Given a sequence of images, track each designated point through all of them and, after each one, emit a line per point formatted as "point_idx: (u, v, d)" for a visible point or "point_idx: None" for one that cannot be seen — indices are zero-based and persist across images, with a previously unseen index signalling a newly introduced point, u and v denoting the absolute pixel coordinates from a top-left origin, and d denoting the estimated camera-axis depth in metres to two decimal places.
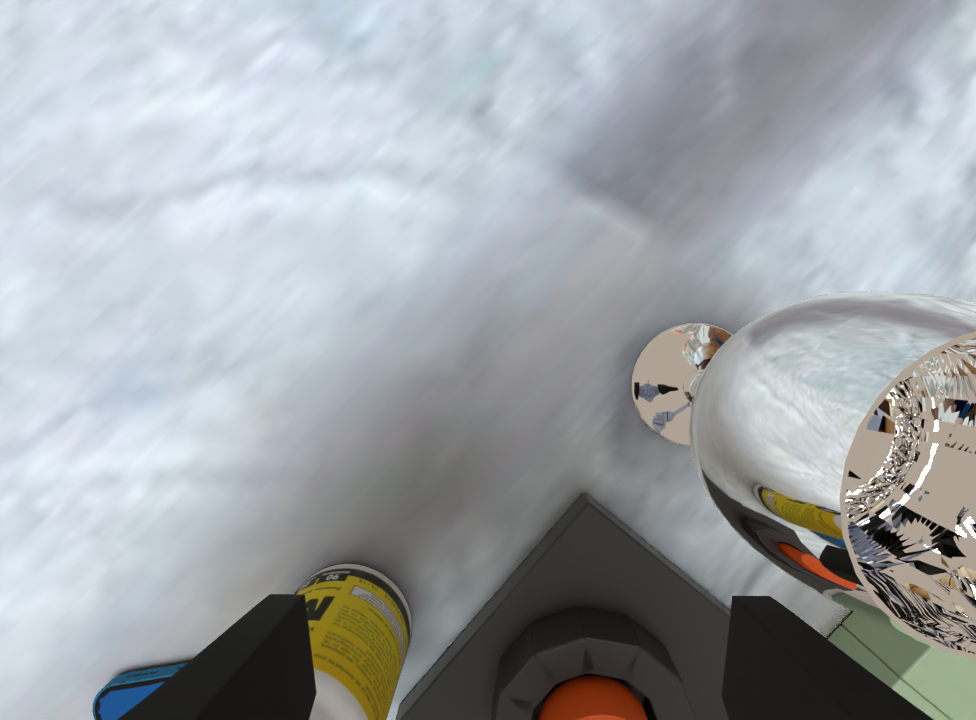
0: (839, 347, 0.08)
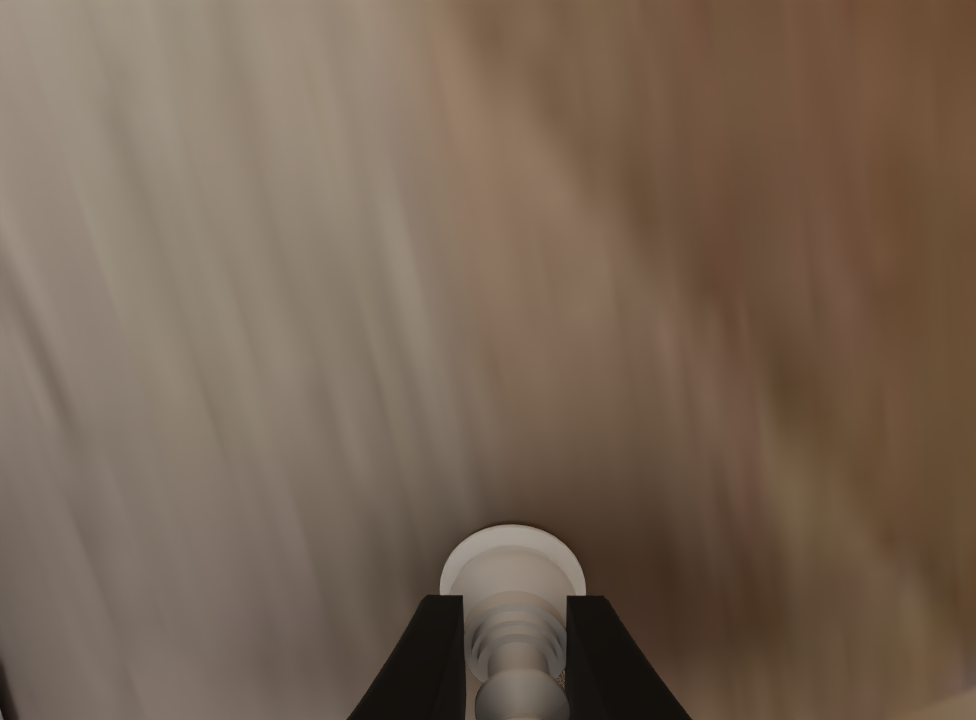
0: None
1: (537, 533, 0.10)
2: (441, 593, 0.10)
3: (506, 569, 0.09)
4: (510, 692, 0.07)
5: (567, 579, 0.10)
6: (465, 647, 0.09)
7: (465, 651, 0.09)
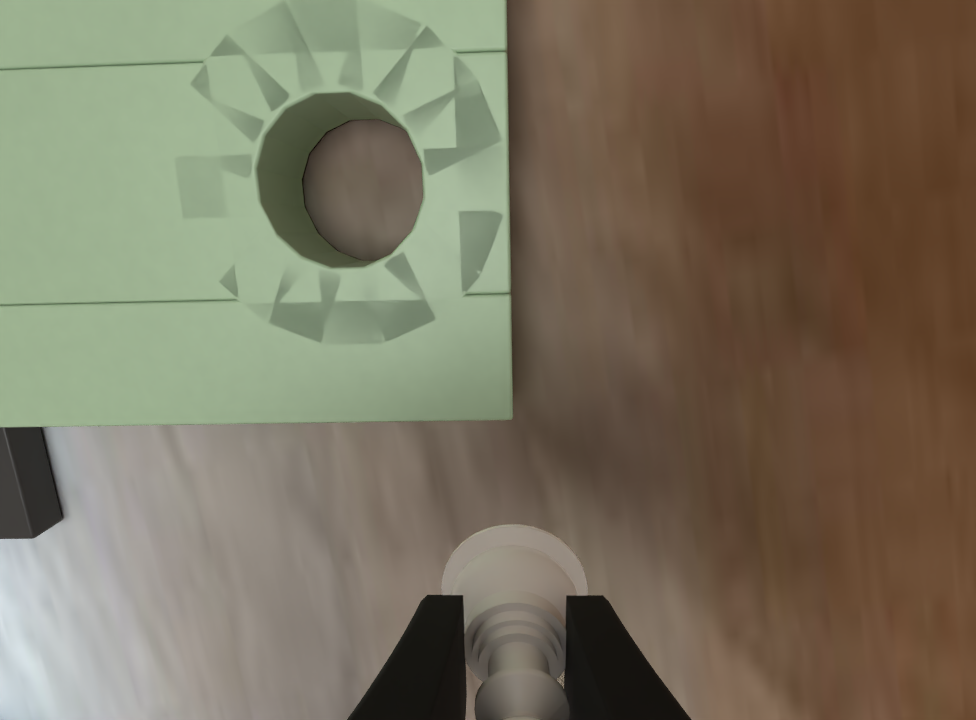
0: None
1: (539, 533, 0.10)
2: (443, 592, 0.10)
3: (507, 569, 0.09)
4: (510, 691, 0.07)
5: (568, 579, 0.10)
6: (466, 646, 0.09)
7: (466, 650, 0.09)
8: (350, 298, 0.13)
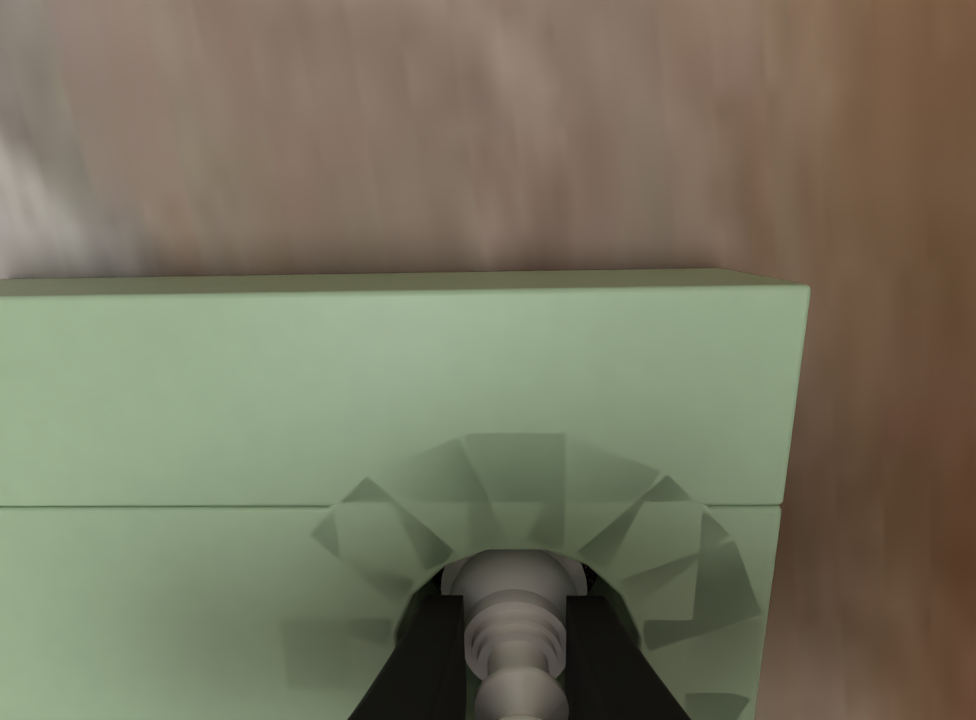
0: None
1: None
2: (442, 591, 0.10)
3: (506, 567, 0.09)
4: (509, 690, 0.07)
5: (568, 578, 0.09)
6: (465, 645, 0.09)
7: (465, 649, 0.09)
8: None
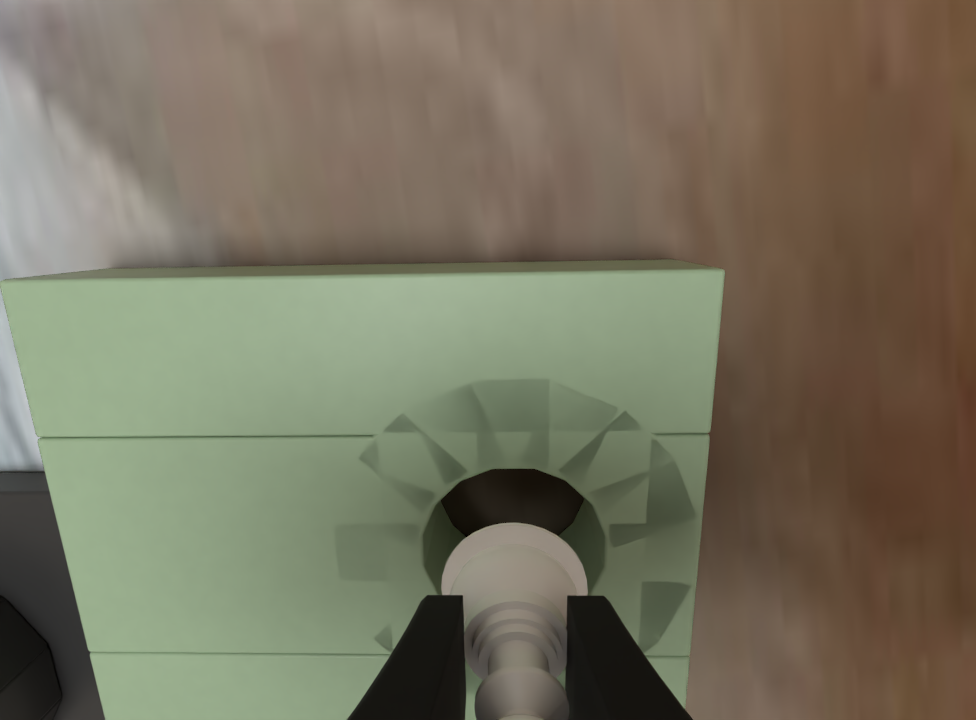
0: None
1: (539, 531, 0.10)
2: (443, 591, 0.10)
3: (507, 567, 0.09)
4: (509, 690, 0.07)
5: (568, 578, 0.09)
6: (466, 645, 0.09)
7: (466, 649, 0.09)
8: None
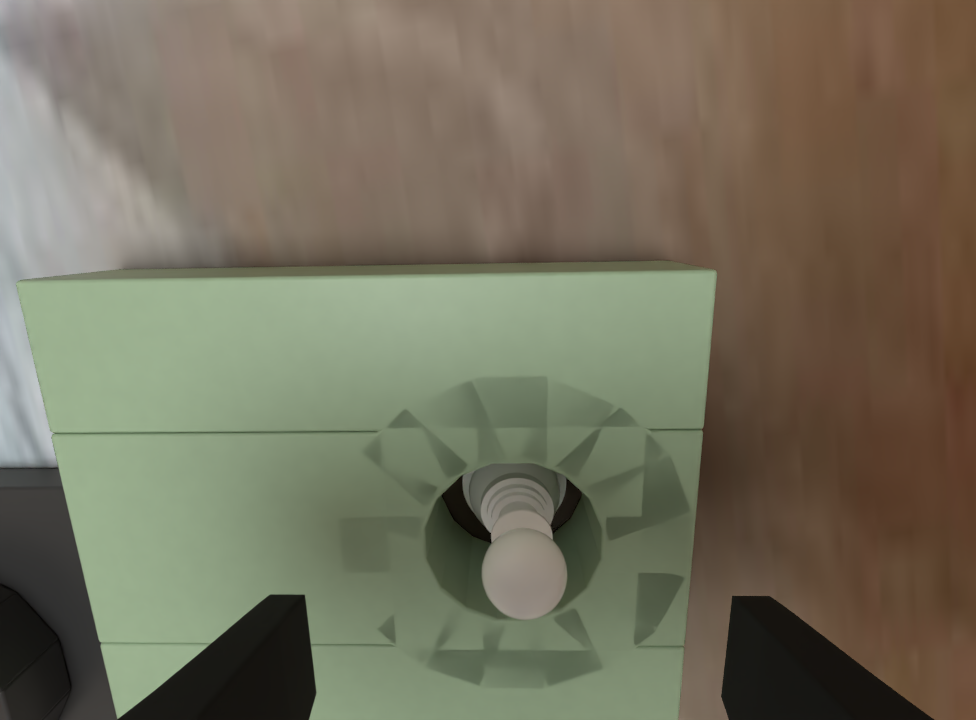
0: None
1: None
2: (463, 486, 0.14)
3: None
4: (514, 522, 0.12)
5: None
6: (482, 510, 0.13)
7: (482, 513, 0.13)
8: (514, 647, 0.12)
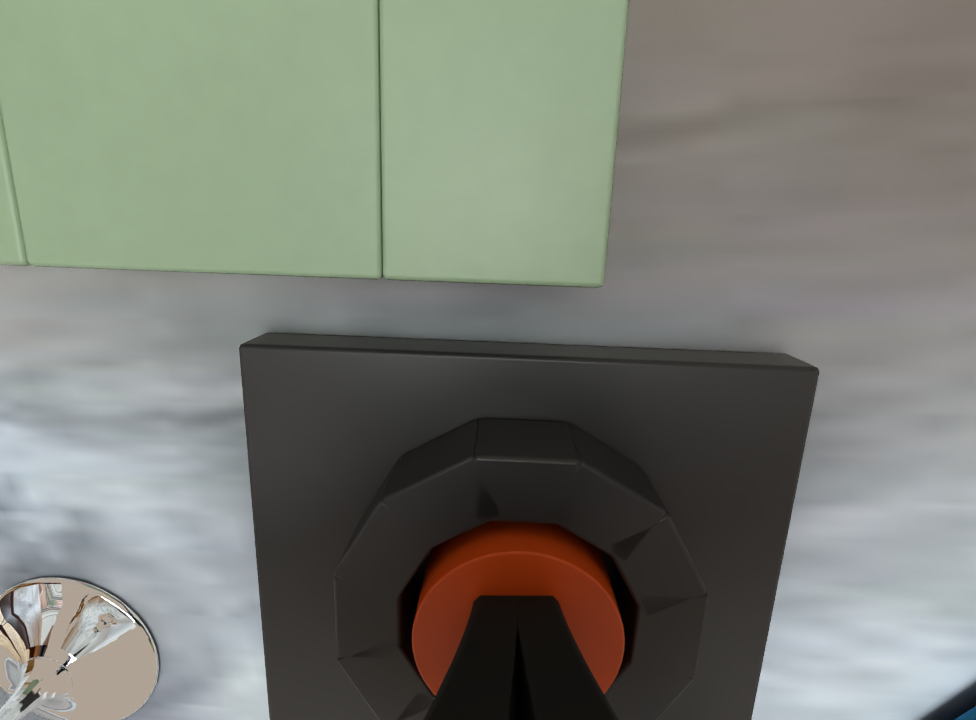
0: None
1: None
2: None
3: None
4: None
5: None
6: None
7: None
8: None
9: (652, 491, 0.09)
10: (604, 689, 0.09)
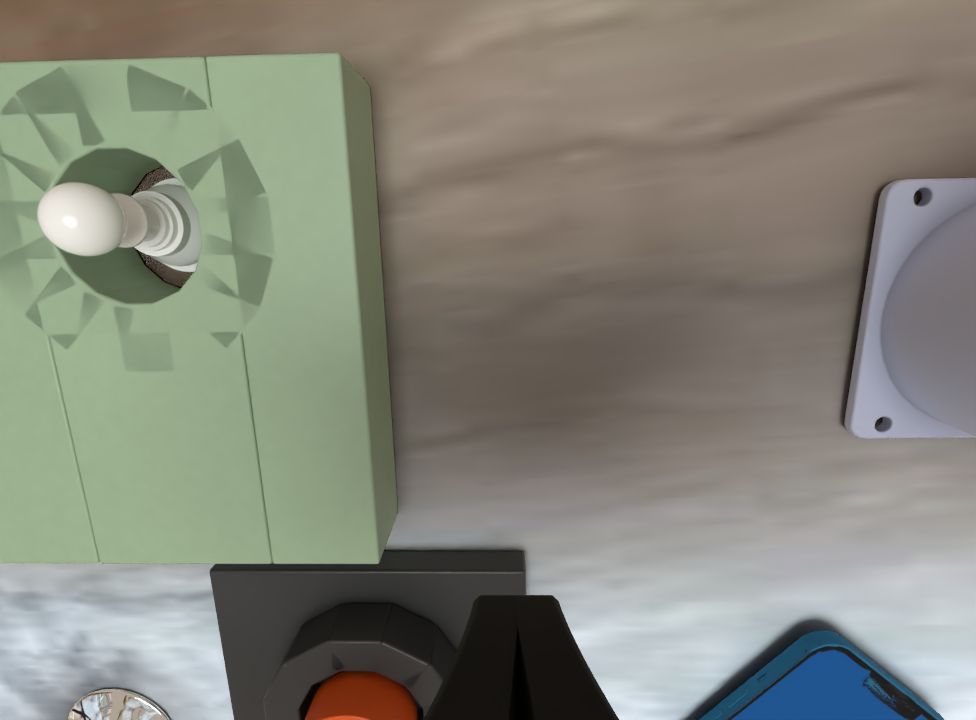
0: None
1: None
2: (193, 270, 0.17)
3: None
4: None
5: None
6: (156, 254, 0.15)
7: (157, 254, 0.15)
8: (227, 225, 0.14)
9: (428, 648, 0.17)
10: None
